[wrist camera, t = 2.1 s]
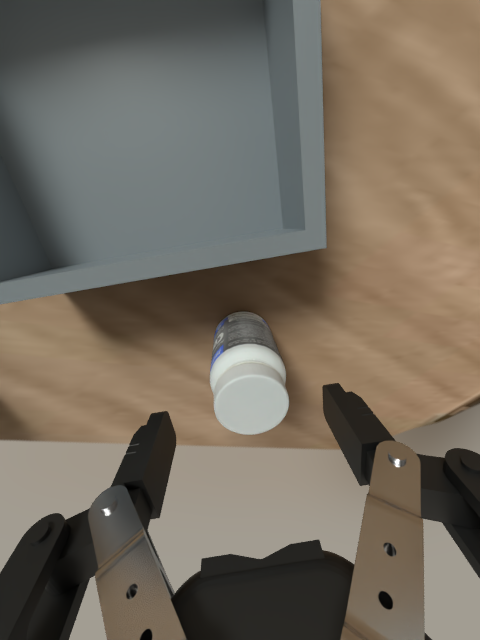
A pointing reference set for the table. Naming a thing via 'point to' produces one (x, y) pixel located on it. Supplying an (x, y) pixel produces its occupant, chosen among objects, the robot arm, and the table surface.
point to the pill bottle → (247, 375)
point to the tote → (156, 139)
